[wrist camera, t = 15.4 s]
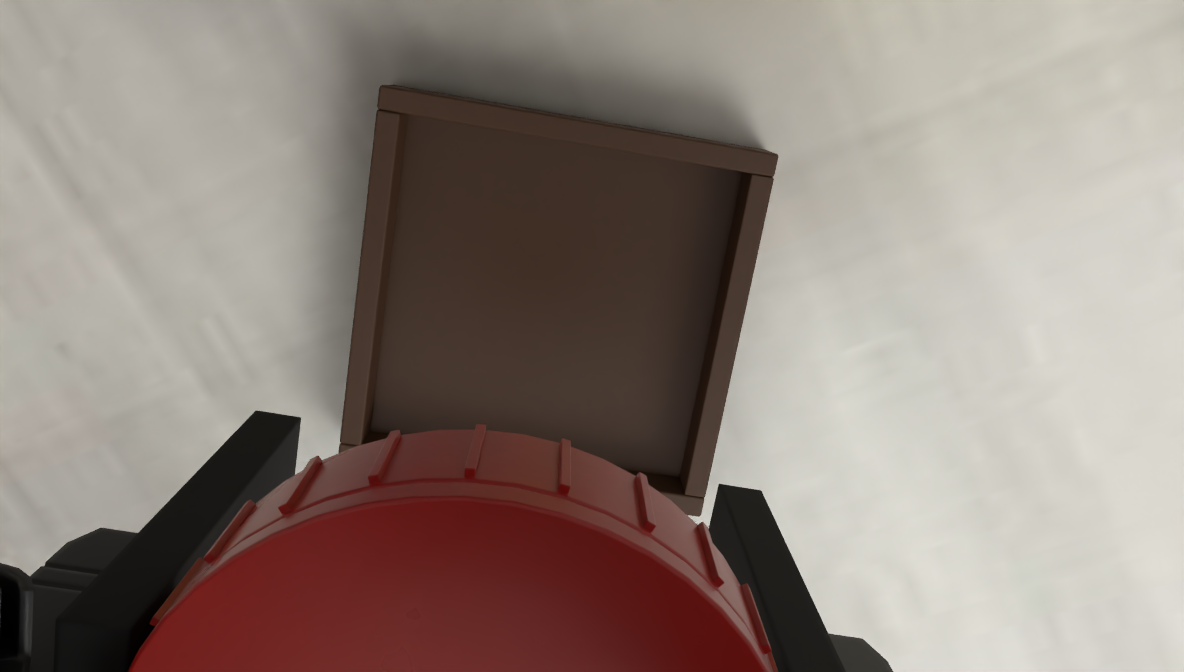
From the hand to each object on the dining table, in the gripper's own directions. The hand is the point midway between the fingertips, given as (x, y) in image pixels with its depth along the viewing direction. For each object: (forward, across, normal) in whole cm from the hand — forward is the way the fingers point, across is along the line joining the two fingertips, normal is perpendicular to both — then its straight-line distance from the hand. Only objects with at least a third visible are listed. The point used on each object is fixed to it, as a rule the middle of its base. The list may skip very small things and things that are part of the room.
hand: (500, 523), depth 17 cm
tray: (+16, 0, 0) cm, 16 cm away
